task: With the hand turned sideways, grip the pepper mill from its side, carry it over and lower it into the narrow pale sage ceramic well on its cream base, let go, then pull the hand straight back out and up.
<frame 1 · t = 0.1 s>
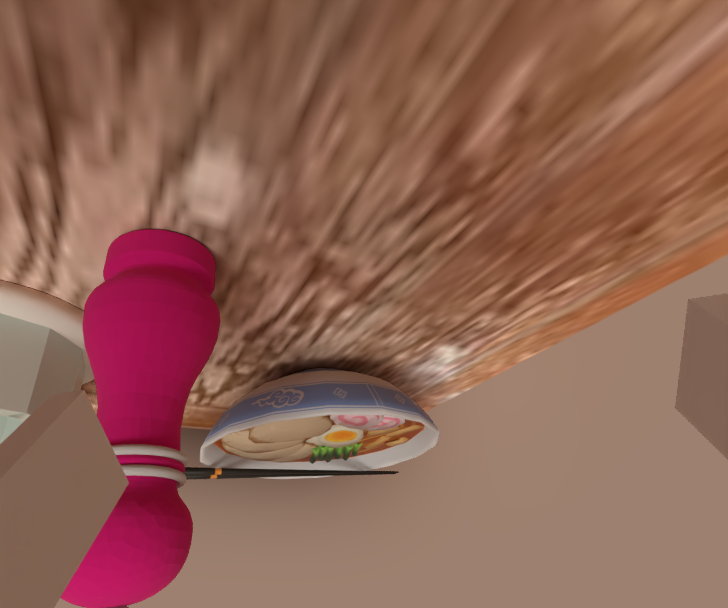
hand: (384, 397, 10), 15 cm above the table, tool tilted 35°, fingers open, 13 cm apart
ramen bowl: (318, 379, 49), on the table
pepper mill: (164, 257, 30), on the table
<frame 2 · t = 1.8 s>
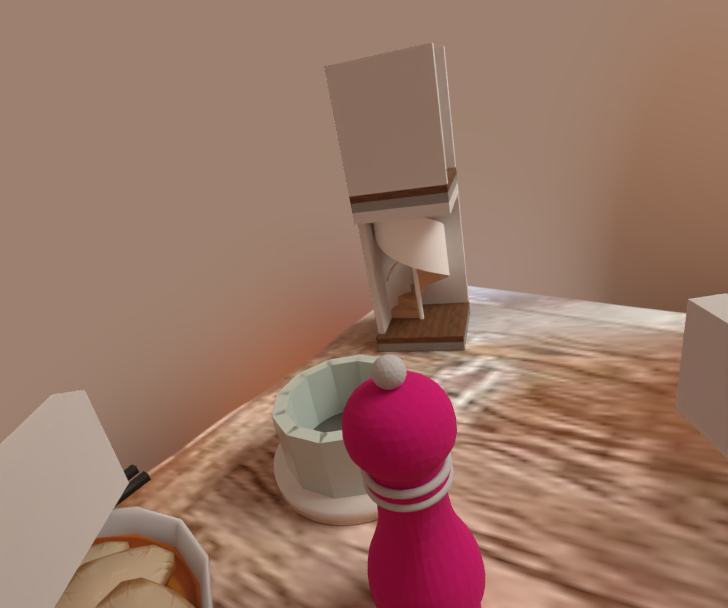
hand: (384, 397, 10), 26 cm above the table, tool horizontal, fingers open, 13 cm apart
well: (357, 455, 46), on the table
spiral stair tower: (426, 332, 67), on the table
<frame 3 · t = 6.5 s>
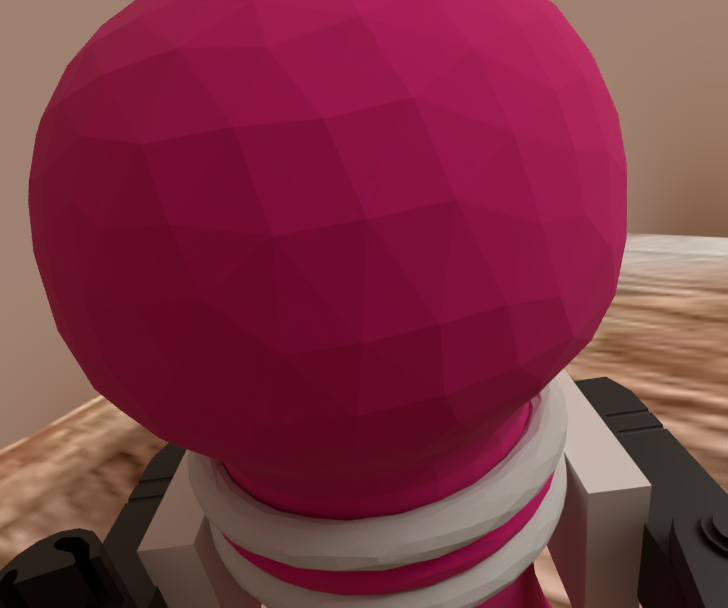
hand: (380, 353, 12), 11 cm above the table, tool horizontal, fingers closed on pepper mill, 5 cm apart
when the fingers open (14 cm above the table, at t = 11.4 s): pepper mill drops 1 cm, resting on well.
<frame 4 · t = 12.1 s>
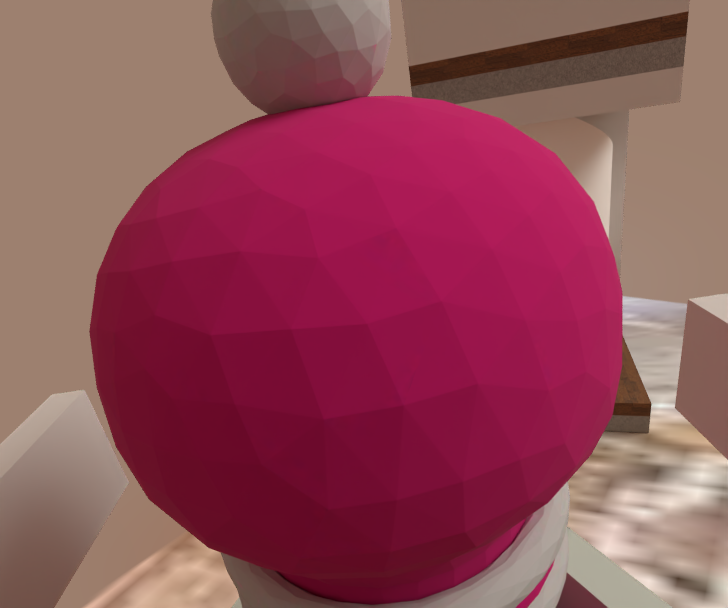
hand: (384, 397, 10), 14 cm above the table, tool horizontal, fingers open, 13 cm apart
spiral stair tower: (538, 381, 34), on the table
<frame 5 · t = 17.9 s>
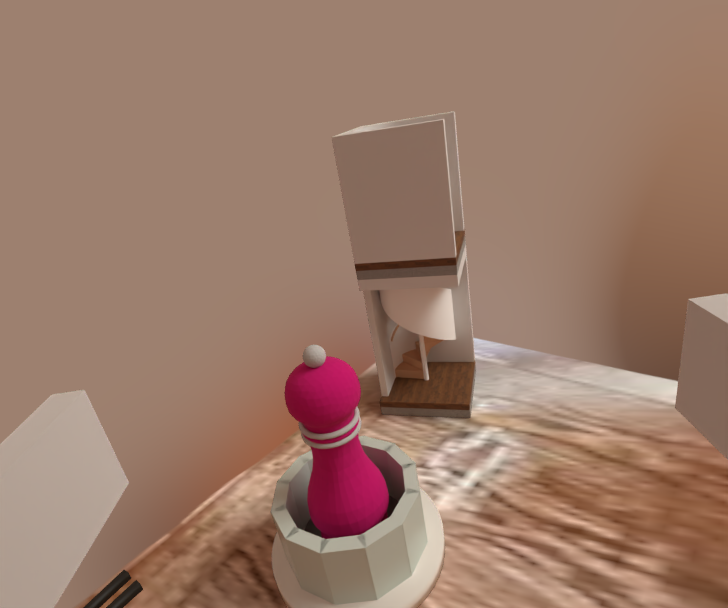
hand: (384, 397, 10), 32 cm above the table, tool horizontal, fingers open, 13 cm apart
well: (359, 546, 44), on the table
spiral stair tower: (431, 392, 65), on the table
pepper mill: (357, 535, 44), point 2 cm above the table, touching well
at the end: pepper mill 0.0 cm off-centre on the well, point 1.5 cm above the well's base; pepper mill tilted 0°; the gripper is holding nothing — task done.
